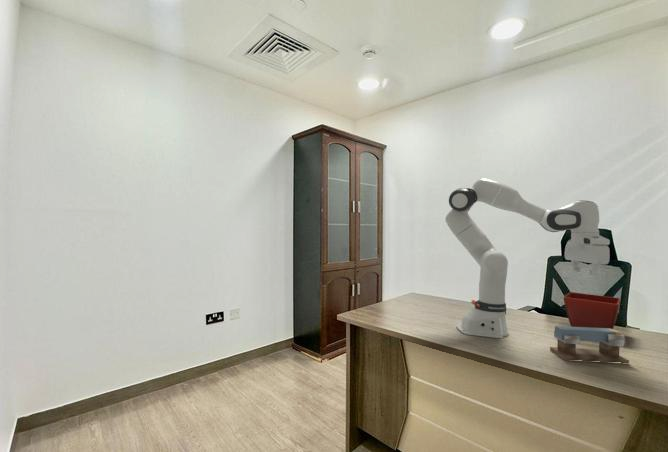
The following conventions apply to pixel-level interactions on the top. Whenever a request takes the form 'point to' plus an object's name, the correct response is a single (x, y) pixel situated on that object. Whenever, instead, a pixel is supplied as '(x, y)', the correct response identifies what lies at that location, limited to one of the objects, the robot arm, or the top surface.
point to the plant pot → (591, 310)
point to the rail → (585, 333)
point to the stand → (604, 354)
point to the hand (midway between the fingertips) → (584, 273)
